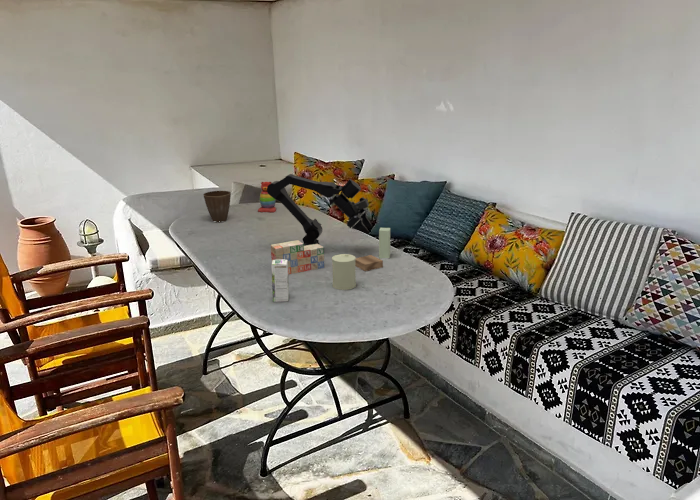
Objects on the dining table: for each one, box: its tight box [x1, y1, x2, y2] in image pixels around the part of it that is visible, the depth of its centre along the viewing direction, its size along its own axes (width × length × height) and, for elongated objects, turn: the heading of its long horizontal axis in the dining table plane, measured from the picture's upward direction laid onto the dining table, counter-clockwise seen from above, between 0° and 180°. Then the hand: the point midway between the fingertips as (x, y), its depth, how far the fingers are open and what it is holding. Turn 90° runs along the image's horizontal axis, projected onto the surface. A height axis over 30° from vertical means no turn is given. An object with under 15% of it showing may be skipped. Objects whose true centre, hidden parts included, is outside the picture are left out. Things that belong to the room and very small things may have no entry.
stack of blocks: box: [270, 239, 325, 275], centre depth 222 cm, size 21×6×12 cm, turn 117°
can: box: [331, 253, 357, 291], centre depth 204 cm, size 9×9×12 cm
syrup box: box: [271, 259, 290, 303], centre depth 192 cm, size 6×6×14 cm
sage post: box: [378, 227, 391, 259], centre depth 236 cm, size 4×4×13 cm
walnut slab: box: [355, 254, 384, 272], centre depth 226 cm, size 9×9×3 cm
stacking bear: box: [257, 181, 277, 213], centre depth 321 cm, size 11×10×18 cm
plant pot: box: [203, 190, 232, 223], centre depth 299 cm, size 15×15×16 cm
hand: (370, 230), depth 235 cm, fingers open, 9 cm apart
